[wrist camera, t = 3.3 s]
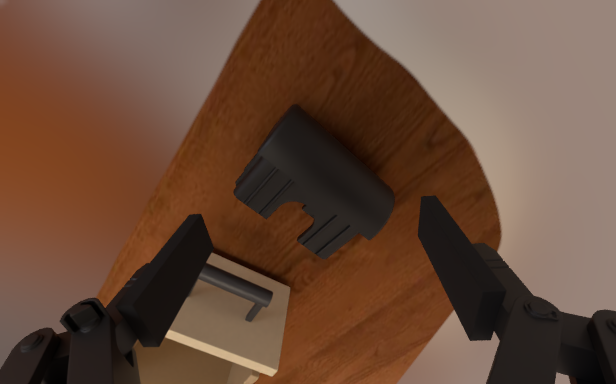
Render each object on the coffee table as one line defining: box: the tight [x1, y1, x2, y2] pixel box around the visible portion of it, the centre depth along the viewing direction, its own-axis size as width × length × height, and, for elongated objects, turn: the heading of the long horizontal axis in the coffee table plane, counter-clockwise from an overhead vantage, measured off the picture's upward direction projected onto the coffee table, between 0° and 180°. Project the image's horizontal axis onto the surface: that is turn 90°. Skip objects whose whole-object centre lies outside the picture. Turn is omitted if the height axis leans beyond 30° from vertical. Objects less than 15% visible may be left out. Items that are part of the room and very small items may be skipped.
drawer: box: [133, 253, 290, 384], centre depth 26 cm, size 16×13×9 cm
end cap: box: [234, 104, 395, 259], centre depth 21 cm, size 10×7×7 cm
